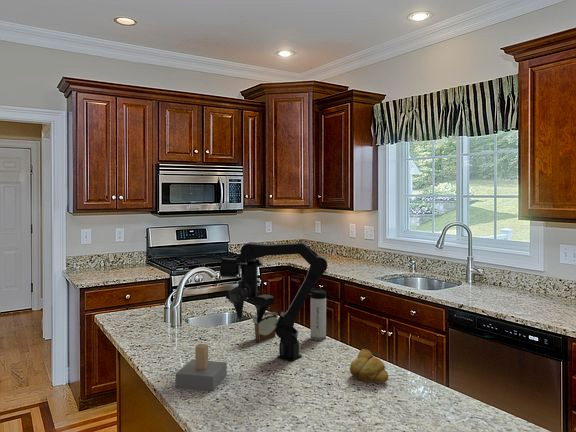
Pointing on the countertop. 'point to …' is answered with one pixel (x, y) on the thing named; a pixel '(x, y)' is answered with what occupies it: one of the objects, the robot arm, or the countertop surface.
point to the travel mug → (318, 314)
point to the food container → (265, 327)
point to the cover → (201, 372)
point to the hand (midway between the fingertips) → (249, 320)
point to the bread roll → (368, 368)
